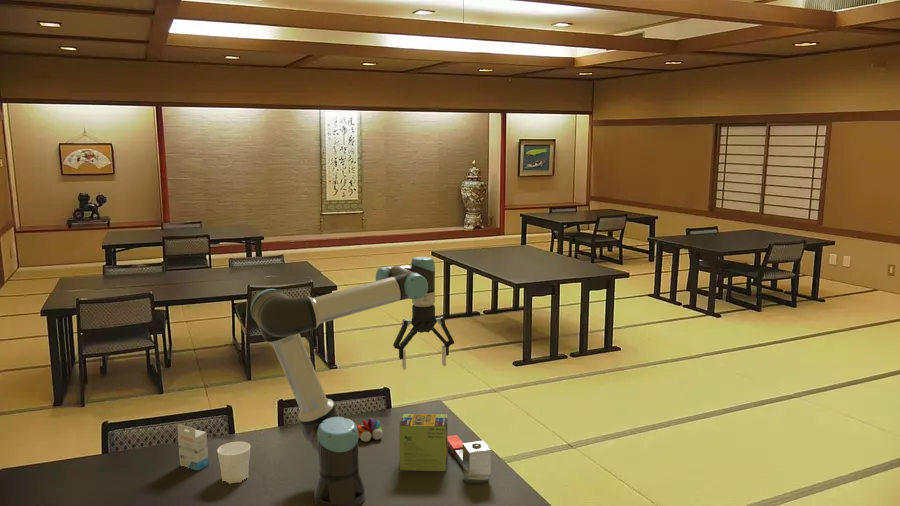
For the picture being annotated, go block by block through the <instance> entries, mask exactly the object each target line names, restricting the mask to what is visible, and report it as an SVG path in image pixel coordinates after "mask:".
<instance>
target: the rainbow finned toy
mask: <svg viewBox="0 0 900 506" xmlns="http://www.w3.org/2000/svg"><path fill="white" fill-rule="evenodd" d="M362 424H363V425H362ZM362 424H361V425H360V424H358V425H356V426H357V431H358V435H359V438H358V439H360V441H362V442H364V443H367V442H369V441H371V439H374V440H376V441H377V440H381V439H382V438H383V434H384V433H383V427H381V425H380V424H381V423H380V420H374V418H372V417H370V418H368V420H367V421H366V420H365V419H363V420H362Z"/></svg>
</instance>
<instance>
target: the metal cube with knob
mask: <svg viewBox="0 0 900 506" xmlns="http://www.w3.org/2000/svg"><path fill="white" fill-rule="evenodd" d="M463 468H464V470H465V471H466V472H467V474H468V475H469V477H473V476H479V475H486V474H489V475H491V474H492V449H491V448H490V447H489V445H488V444H487V443H486V442H485V441H484V440H478V441H472V442H471V441H470V442H463V467H462V469H463Z"/></svg>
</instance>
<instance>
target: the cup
mask: <svg viewBox="0 0 900 506" xmlns="http://www.w3.org/2000/svg"><path fill="white" fill-rule="evenodd" d="M216 452H217V456H218V462H219V468H220V475H221V481H222V482H223V481H226V482H225V483H228V484H229V485H231V484H234V483H235V484H236V483H242V480H243V481H245V480H247V479H249V474H248V473H250V472H249V467H250V466H249V465H250V456H251V444H250V443H249V442H246V441H232V442H227V443H224V444H222V445H220V446H219V447H218V448H217V449H216ZM246 478H247V479H246ZM244 479H245V480H244Z"/></svg>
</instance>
